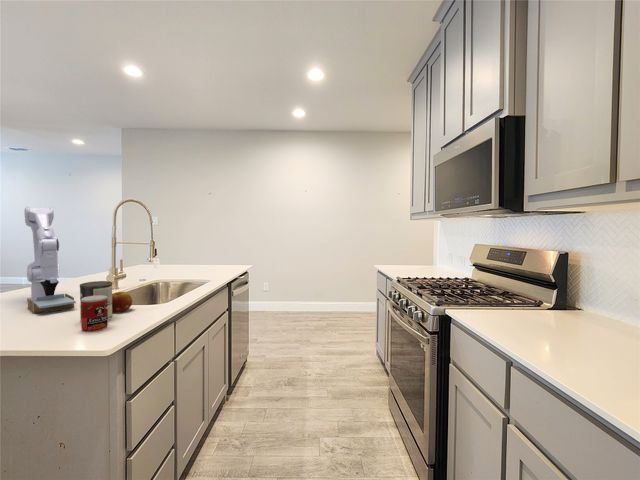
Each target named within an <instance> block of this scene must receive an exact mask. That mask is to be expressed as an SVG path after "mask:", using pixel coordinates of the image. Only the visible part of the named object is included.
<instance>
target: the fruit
mask: <svg viewBox="0 0 640 480" xmlns="http://www.w3.org/2000/svg"><path fill="white" fill-rule="evenodd" d="M132 305H133V297H132V295H131V294H130V293H129V292H128V291H127V292H126V291H117V292H112V313H123V311H124V312H126V311H128V310H129V309H130V308H131V307H132Z"/></svg>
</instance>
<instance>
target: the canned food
mask: <svg viewBox="0 0 640 480" xmlns="http://www.w3.org/2000/svg"><path fill="white" fill-rule="evenodd" d="M80 320H81V322H80V327H81V330H82V331H83V332H86V333H87V332H99V331H101V330H104V329H106V328H107V327H108V325H109V324H108V323H109V320H108V301H107V296H104V295H96V296H88V297H84V298H82V299H81V318H80Z"/></svg>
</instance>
